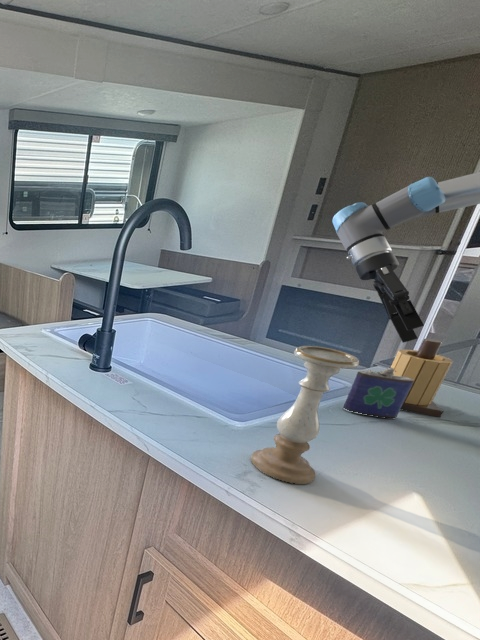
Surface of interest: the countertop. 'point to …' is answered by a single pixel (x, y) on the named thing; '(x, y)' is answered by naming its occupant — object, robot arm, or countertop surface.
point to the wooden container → (421, 375)
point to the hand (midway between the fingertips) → (412, 334)
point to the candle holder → (302, 417)
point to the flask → (378, 393)
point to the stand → (428, 352)
